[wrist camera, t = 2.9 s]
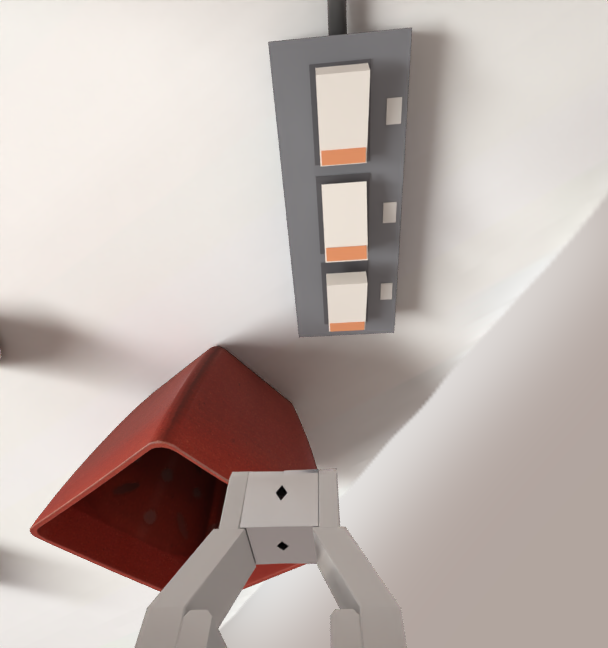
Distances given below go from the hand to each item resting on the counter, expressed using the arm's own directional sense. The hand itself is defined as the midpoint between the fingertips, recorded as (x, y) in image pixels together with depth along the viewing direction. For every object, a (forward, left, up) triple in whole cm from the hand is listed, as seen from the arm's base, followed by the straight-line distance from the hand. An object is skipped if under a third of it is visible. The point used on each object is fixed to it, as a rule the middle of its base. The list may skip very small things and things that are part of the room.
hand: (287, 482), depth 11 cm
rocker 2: (0, +3, -22) cm, 22 cm away
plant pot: (+23, -12, -27) cm, 38 cm away
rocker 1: (-7, +3, -22) cm, 23 cm away
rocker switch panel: (-3, +3, -27) cm, 27 cm away
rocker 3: (+7, +3, -22) cm, 23 cm away
